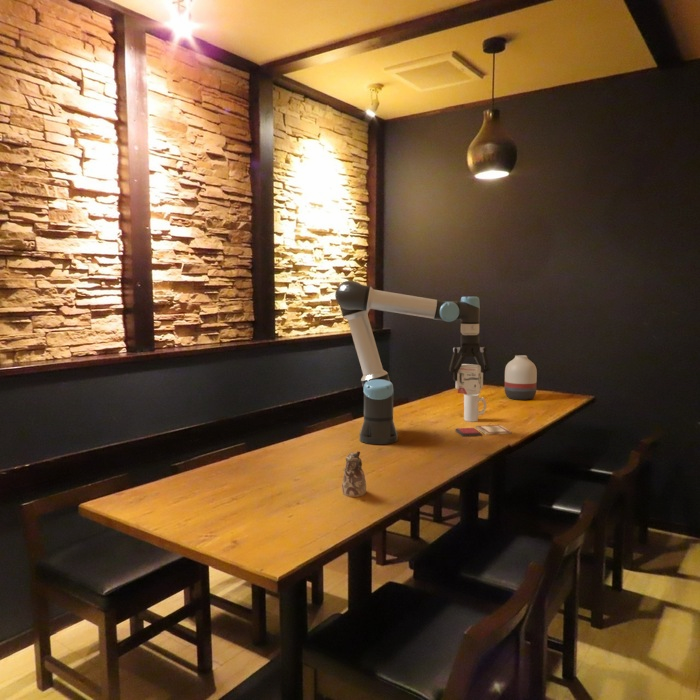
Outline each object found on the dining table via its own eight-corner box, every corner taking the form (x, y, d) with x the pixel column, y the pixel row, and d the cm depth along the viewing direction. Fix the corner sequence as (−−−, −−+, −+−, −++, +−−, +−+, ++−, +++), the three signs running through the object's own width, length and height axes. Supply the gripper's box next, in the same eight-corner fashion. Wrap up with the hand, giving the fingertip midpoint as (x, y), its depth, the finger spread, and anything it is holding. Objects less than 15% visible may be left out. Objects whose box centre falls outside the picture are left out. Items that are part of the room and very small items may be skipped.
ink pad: (462, 436, 243) (462, 433, 243) (455, 430, 253) (455, 428, 253) (481, 435, 244) (481, 432, 244) (473, 430, 254) (473, 427, 254)
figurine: (336, 492, 175) (336, 452, 174) (354, 487, 180) (353, 448, 179) (354, 498, 170) (353, 457, 169) (371, 492, 175) (371, 452, 174)
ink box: (457, 393, 246) (457, 364, 245) (460, 391, 251) (461, 363, 250) (477, 395, 242) (478, 366, 241) (481, 393, 247) (481, 364, 246)
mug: (463, 421, 271) (463, 395, 270) (463, 418, 278) (464, 392, 277) (485, 422, 269) (486, 396, 268) (486, 419, 275) (486, 393, 274)
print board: (486, 434, 246) (486, 432, 246) (475, 427, 258) (475, 425, 258) (511, 433, 247) (511, 431, 247) (500, 426, 260) (500, 424, 260)
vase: (539, 397, 333) (540, 355, 331) (531, 402, 319) (532, 358, 316) (509, 394, 342) (510, 353, 340) (500, 399, 328) (501, 356, 325)
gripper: (446, 335, 239) (445, 390, 241) (499, 334, 242) (498, 389, 244) (441, 333, 247) (440, 387, 249) (492, 333, 249) (491, 386, 252)
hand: (469, 388), depth 246 cm, fingers closed on ink box, 9 cm apart
